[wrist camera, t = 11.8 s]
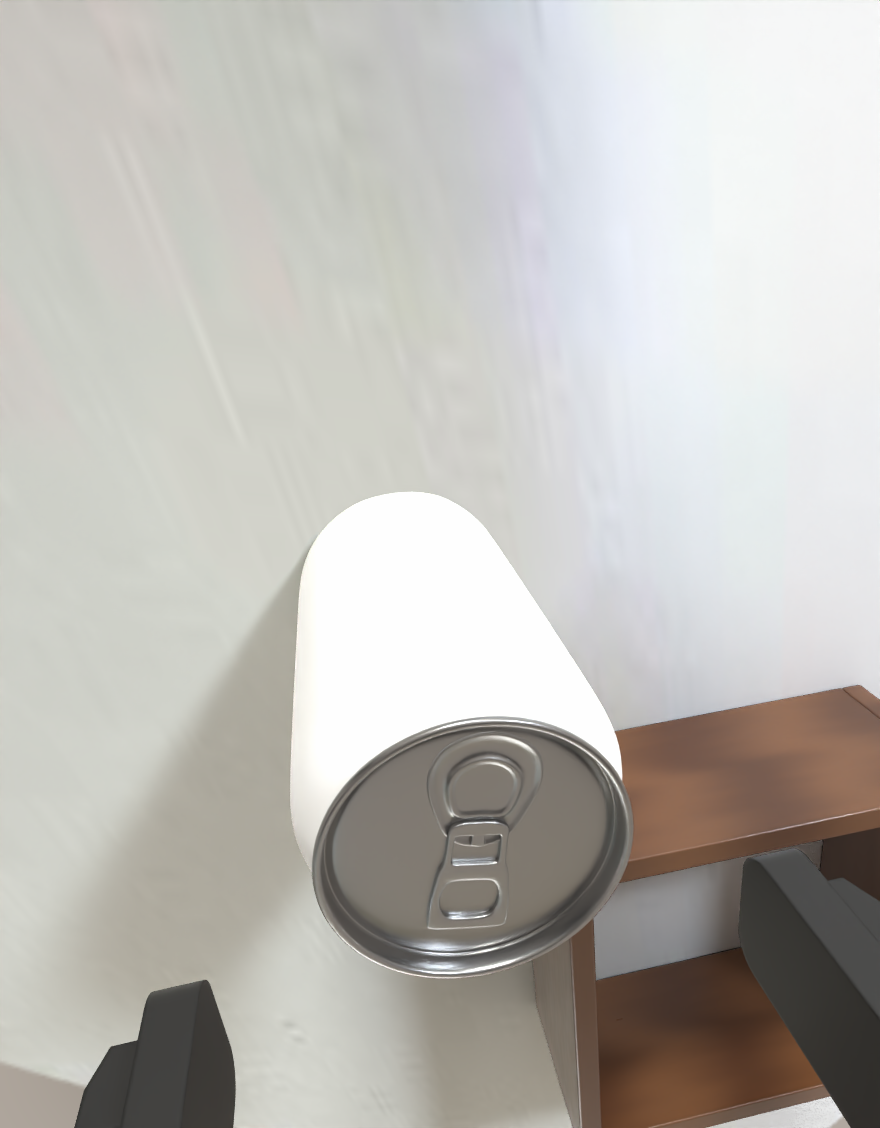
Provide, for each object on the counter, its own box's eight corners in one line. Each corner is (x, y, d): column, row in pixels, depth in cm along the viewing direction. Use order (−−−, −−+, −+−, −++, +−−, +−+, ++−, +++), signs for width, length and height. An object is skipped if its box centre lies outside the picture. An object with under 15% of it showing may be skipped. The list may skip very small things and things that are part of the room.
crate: (536, 1006, 32) (581, 1160, 26) (514, 749, 27) (565, 874, 21) (826, 939, 33) (927, 1072, 28) (860, 683, 28) (992, 784, 23)
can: (512, 491, 23) (693, 695, 12) (488, 673, 25) (622, 983, 14) (302, 481, 22) (287, 696, 11) (297, 673, 24) (282, 1010, 13)
